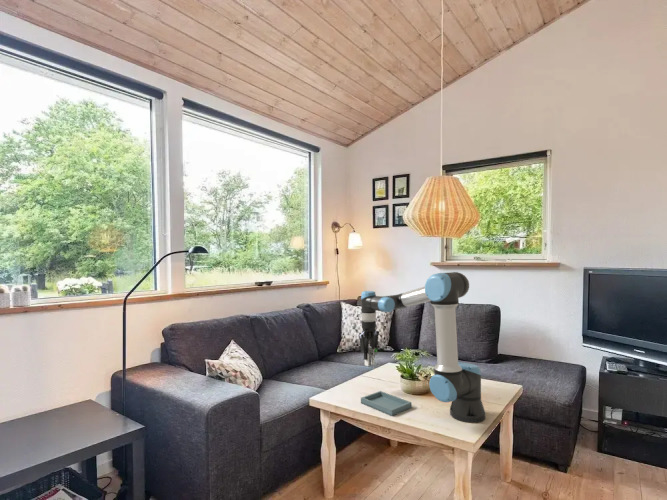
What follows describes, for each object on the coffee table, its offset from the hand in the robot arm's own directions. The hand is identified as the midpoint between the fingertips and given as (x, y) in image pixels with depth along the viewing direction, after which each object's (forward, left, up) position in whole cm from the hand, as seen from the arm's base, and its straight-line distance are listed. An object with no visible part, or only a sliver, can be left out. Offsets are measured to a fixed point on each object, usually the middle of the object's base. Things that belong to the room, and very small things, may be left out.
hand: (369, 364), depth 203 cm
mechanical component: (0, 0, -1) cm, 1 cm away
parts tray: (-18, +7, -14) cm, 24 cm away
